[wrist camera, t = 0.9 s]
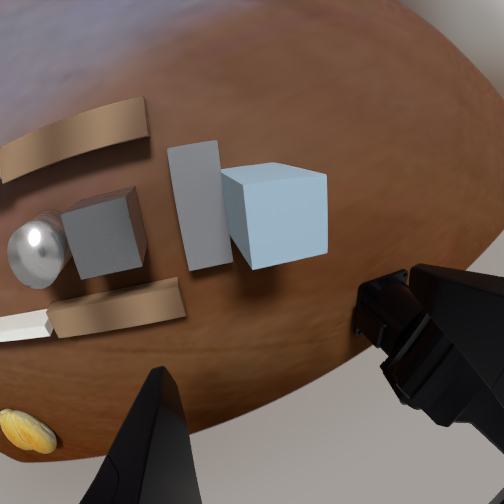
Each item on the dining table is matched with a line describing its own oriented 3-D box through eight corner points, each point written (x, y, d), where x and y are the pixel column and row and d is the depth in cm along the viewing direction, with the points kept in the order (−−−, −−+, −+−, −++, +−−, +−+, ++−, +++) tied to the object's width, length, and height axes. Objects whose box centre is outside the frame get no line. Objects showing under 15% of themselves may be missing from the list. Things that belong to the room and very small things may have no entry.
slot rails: (145, 100, 14) (143, 95, 13) (184, 304, 20) (186, 316, 19) (7, 147, 12) (-3, 149, 11) (63, 327, 18) (59, 338, 17)
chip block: (135, 185, 16) (125, 196, 13) (147, 242, 18) (142, 266, 14) (81, 199, 16) (60, 214, 12) (96, 253, 17) (81, 279, 14)
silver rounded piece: (69, 203, 15) (46, 219, 12) (84, 257, 17) (67, 283, 13) (26, 217, 14) (-1, 235, 11) (42, 267, 16) (21, 293, 13)
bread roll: (66, 443, 24) (63, 465, 20) (20, 434, 21) (16, 454, 18) (40, 411, 21) (34, 436, 17) (-7, 401, 18) (-14, 422, 15)
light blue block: (271, 134, 17) (323, 132, 11) (280, 242, 21) (326, 286, 15) (167, 148, 16) (163, 149, 10) (187, 261, 19) (197, 318, 13)
